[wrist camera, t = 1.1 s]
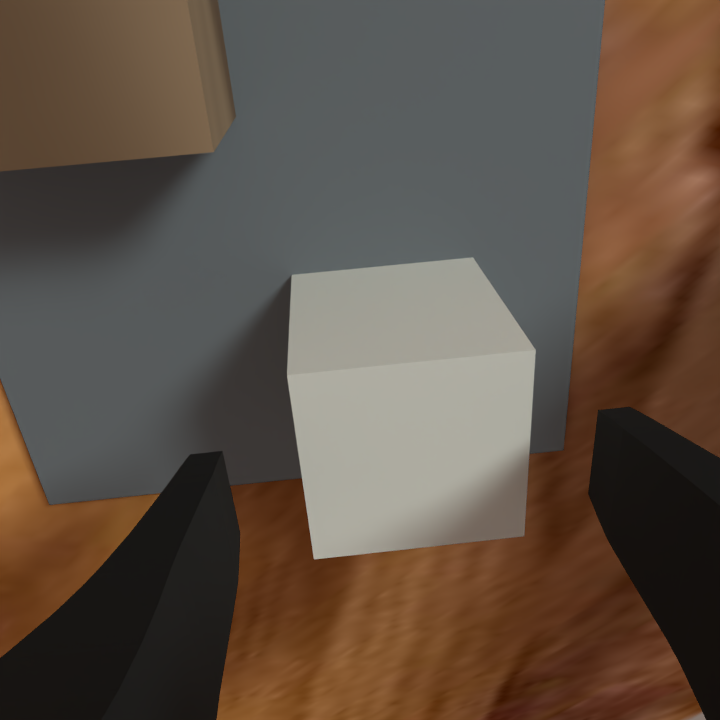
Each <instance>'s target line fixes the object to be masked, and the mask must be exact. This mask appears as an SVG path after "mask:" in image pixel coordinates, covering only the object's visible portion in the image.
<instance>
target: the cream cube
mask: <svg viewBox="0 0 720 720" xmlns="http://www.w3.org/2000/svg"><path fill="white" fill-rule="evenodd" d="M535 354H536V350H535V348H534V347H533V345H532V344H531V342H530V341H529V339H528V338H527V336H526V335H525V333H524V332H523V330H522V329H521V327H520V326H519V325H518V323H517V322H516V320H515V319H514V317H513V316H512V314H511V313H510V311H509V310H508V308H507V307H506V305H505V304H504V302H503V301H502V299H501V298H500V297H499V295H498V294H497V292H496V291H495V289H494V288H493V286H492V285H491V283H490V282H489V280H488V279H487V277H486V276H485V274H484V273H483V271H482V270H481V269H480V267H479V266H478V264H477V263H476V261H475V260H474V258H473V257H472V258H461V259H451V260H441V261H430V262H420V263H410V264H399V265H389V266H379V267H368V268H358V269H348V270H337V271H327V272H316V273H306V274H296V275H292V278H291V299H290V320H289V342H288V363H287V379H288V386H289V393H290V400H291V406H292V413H293V420H294V427H295V434H296V440H297V447H298V454H299V461H300V468H301V474H302V481H303V488H304V495H305V502H306V509H307V515H308V522H309V529H310V536H311V543H312V549H313V556H314V559H323V558H332V557H341V556H350V555H359V554H368V553H377V552H386V551H395V550H404V549H413V548H423V547H432V546H441V545H450V544H459V543H468V542H477V541H486V540H495V539H504V538H513V537H522V536H524V532H525V516H526V500H527V484H528V467H529V451H530V435H531V419H532V402H533V386H534V370H535Z"/></svg>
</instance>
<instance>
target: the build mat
mask: <svg viewBox="0 0 720 720" xmlns="http://www.w3.org/2000/svg"><path fill="white" fill-rule="evenodd" d="M218 4H219V11H220V17H221V23H222V30H223V36H224V43H225V49H226V56H227V62H228V68H229V75H230V81H231V88H232V94H233V101H234V107H235V113H236V118H235V119H234V121H233V122H232V124H231V126H230V127H229V129H228V130H227V132H226V133H225V135H224V137H223V138H222V140H221V141H220V143H219V145H218V146H217V148H216V149H215V151H214V152H210V153H199V154H188V155H177V156H166V157H155V158H144V159H133V160H121V161H110V162H99V163H88V164H77V165H66V166H55V167H44V168H33V169H22V170H11V171H0V379H1V382H2V384H3V387H4V389H5V392H6V395H7V397H8V400H9V402H10V405H11V407H12V410H13V413H14V415H15V418H16V420H17V423H18V425H19V428H20V431H21V433H22V436H23V438H24V441H25V443H26V446H27V448H28V451H29V454H30V456H31V459H32V461H33V464H34V466H35V469H36V472H37V474H38V477H39V479H40V482H41V484H42V487H43V490H44V492H45V495H46V497H47V500H48V502H49V505H53V504H62V503H72V502H81V501H91V500H100V499H109V498H119V497H128V496H138V495H147V494H156V493H161V492H162V491H163V490H164V488H165V487H166V486H167V484H168V483H169V482H170V480H171V479H172V477H173V476H174V475H175V473H176V472H177V471H178V469H179V468H180V466H181V465H182V464H183V462H184V461H185V460H186V459H187V457H188V456H189V455H190V454H198V453H207V452H216V451H223V455H224V460H225V465H226V469H227V474H228V479H229V483H230V486H232V485H241V484H250V483H260V482H269V481H279V480H288V479H298V478H302V474H301V468H300V461H299V454H298V447H297V440H296V434H295V427H294V420H293V413H292V406H291V400H290V393H289V386H288V379H287V363H288V342H289V320H290V299H291V278H292V275H296V274H306V273H316V272H327V271H337V270H348V269H358V268H368V267H379V266H389V265H399V264H410V263H420V262H430V261H441V260H451V259H461V258H472V257H473V258H474V260H475V261H476V263H477V264H478V266H479V267H480V269H481V270H482V271H483V273H484V274H485V276H486V277H487V279H488V280H489V282H490V283H491V285H492V286H493V288H494V289H495V291H496V292H497V294H498V295H499V297H500V298H501V299H502V301H503V302H504V304H505V305H506V307H507V308H508V310H509V311H510V313H511V314H512V316H513V317H514V319H515V320H516V322H517V323H518V325H519V326H520V327H521V329H522V330H523V332H524V333H525V335H526V336H527V338H528V339H529V341H530V342H531V344H532V345H533V347H534V348H535V350H536V354H535V370H534V386H533V402H532V419H531V435H530V451H529V454H533V453H542V452H551V451H561V450H564V439H565V428H566V417H567V407H568V396H569V385H570V374H571V363H572V352H573V342H574V331H575V320H576V309H577V298H578V287H579V276H580V266H581V255H582V244H583V233H584V222H585V211H586V200H587V190H588V179H589V168H590V157H591V146H592V135H593V125H594V114H595V103H596V92H597V81H598V70H599V59H600V49H601V38H602V27H603V16H604V5H605V0H218Z"/></svg>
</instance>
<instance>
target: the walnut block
mask: <svg viewBox="0 0 720 720" xmlns="http://www.w3.org/2000/svg"><path fill="white" fill-rule="evenodd" d="M235 118H236V113H235V107H234V101H233V94H232V88H231V81H230V75H229V68H228V62H227V56H226V49H225V43H224V36H223V30H222V23H221V17H220V11H219V4H218V0H0V171H11V170H22V169H33V168H44V167H55V166H66V165H77V164H88V163H99V162H110V161H121V160H133V159H144V158H155V157H166V156H177V155H188V154H199V153H210V152H214V151H215V149H216V148H217V146H218V145H219V143H220V141H221V140H222V138H223V137H224V135H225V133H226V132H227V130H228V129H229V127H230V126H231V124H232V122H233V121H234V119H235Z"/></svg>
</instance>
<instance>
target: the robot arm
mask: <svg viewBox="0 0 720 720" xmlns="http://www.w3.org/2000/svg"><path fill="white" fill-rule="evenodd" d="M588 494H589V497H590V499H591V502H592V504H593V507H594V509H595V512H596V514H597V517H598V519H599V521H600V524H601V526H602V528H603V530H604V533H605V535H606V537H607V539H608V541H609V543H610V545H611V546H612V548H613V550H614V552H615V553H616V555H617V557H618V558H619V560H620V562H621V564H622V565H623V567H624V569H625V570H626V572H627V574H628V575H629V577H630V579H631V580H632V582H633V584H634V585H635V587H636V589H637V590H638V592H639V594H640V595H641V597H642V599H643V600H644V602H645V604H646V605H647V607H648V609H649V610H650V612H651V614H652V615H653V617H654V619H655V620H656V622H657V624H658V625H659V627H660V629H661V631H662V632H663V634H664V636H665V637H666V639H667V641H668V642H669V644H670V646H671V648H672V650H673V652H674V653H675V655H676V657H677V659H678V661H679V663H680V665H681V667H682V669H683V671H684V673H685V675H686V677H687V680H688V682H689V684H690V686H691V688H692V690H693V692H694V695H695V697H696V699H697V701H698V703H699V705H700V707H701V709H702V712H703V714H704V716H705V718H706V720H720V458H719V457H717V456H715V455H714V454H712V453H710V452H708V451H706V450H705V449H703V448H701V447H700V446H698V445H696V444H694V443H693V442H691V441H689V440H687V439H686V438H684V437H682V436H681V435H679V434H677V433H676V432H674V431H672V430H670V429H669V428H667V427H665V426H664V425H662V424H660V423H658V422H657V421H655V420H653V419H651V418H650V417H648V416H646V415H644V414H642V413H640V412H639V411H637V410H635V409H633V408H631V407H624V408H615V409H605V410H598V416H597V424H596V433H595V441H594V450H593V458H592V467H591V475H590V484H589V492H588ZM239 552H240V530H239V525H238V521H237V516H236V511H235V507H234V502H233V497H232V493H231V488H230V483H229V479H228V474H227V469H226V465H225V460H224V455H223V451H216V452H207V453H198V454H190V455H189V456H188V457H187V459H186V460H185V461H184V462H183V464H182V465H181V466H180V468H179V469H178V471H177V472H176V473H175V475H174V476H173V477H172V479H171V480H170V482H169V483H168V484H167V486H166V487H165V488H164V490H163V491H162V492H161V494H160V495H159V497H158V498H157V499H156V501H155V502H154V503H153V504H152V506H151V507H150V508H149V510H148V511H147V512H146V513H145V515H144V516H143V517H142V518H141V520H140V521H139V522H138V524H137V525H136V526H135V527H134V529H133V530H132V531H131V532H130V534H129V535H128V536H127V537H126V538H125V540H124V541H123V542H122V543H121V544H120V545H119V546H118V548H117V549H116V550H115V551H114V552H113V553H112V554H111V556H110V557H109V558H108V559H107V560H106V561H105V562H104V564H103V565H102V566H101V567H100V568H99V569H98V570H97V571H96V572H95V573H94V574H93V575H92V577H91V578H90V579H89V580H88V581H87V582H86V583H85V584H84V585H83V586H82V587H81V588H80V589H79V590H78V591H77V592H76V593H75V594H74V595H72V596H71V597H70V598H69V599H68V600H67V601H66V602H65V603H64V604H63V605H62V606H61V607H60V608H59V609H58V610H57V611H56V612H54V613H53V614H52V615H51V616H50V617H49V618H48V619H46V620H45V621H44V622H43V623H42V624H40V625H39V626H38V627H37V628H36V629H35V630H33V631H32V632H31V633H30V634H29V635H27V636H26V637H25V638H24V639H23V640H21V641H20V642H19V643H18V644H17V645H16V646H14V647H13V648H12V649H11V650H10V651H8V652H7V653H6V654H5V655H3V656H2V657H1V658H0V720H216V718H217V710H218V702H219V694H220V688H221V682H222V676H223V671H224V665H225V659H226V653H227V647H228V641H229V635H230V629H231V623H232V617H233V611H234V605H235V599H236V592H237V586H238V575H239Z"/></svg>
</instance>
